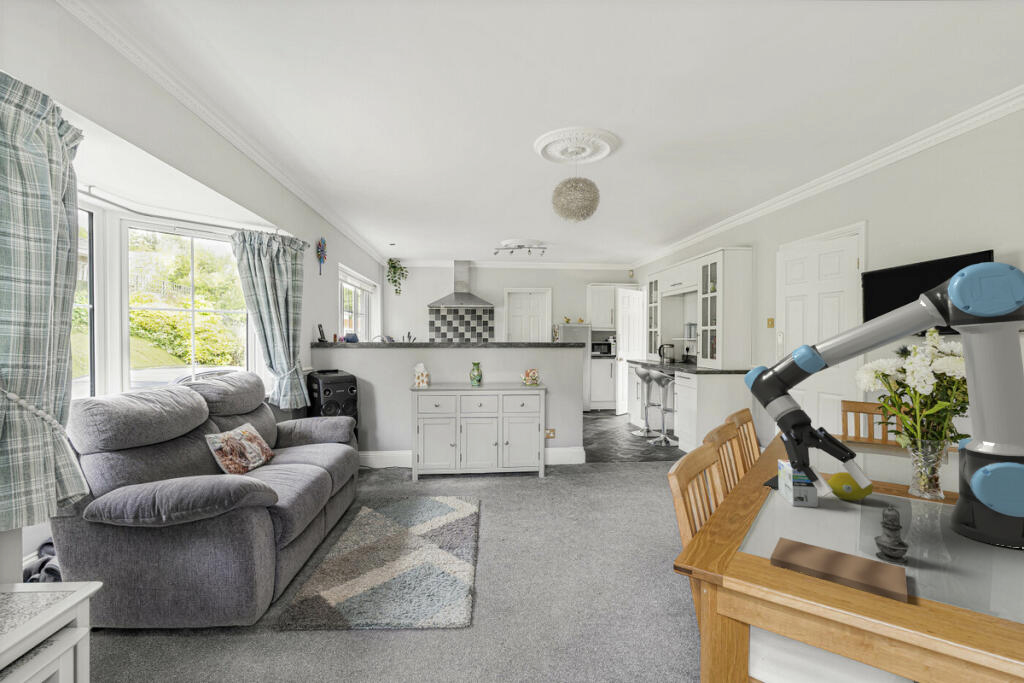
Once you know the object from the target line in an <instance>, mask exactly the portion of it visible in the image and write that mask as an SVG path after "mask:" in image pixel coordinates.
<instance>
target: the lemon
mask: <svg viewBox="0 0 1024 683" xmlns="http://www.w3.org/2000/svg"><path fill="white" fill-rule="evenodd" d="M826 482H827V483H828V484H829V486H830V487H831V488H832V490H833V491H832V492H831V493H832V494H833V495H834V496H835V497H837V498H839V499H841V500H844V501H848V502H850V501H851V502H853V501H860V500H863V499H865V498H867V497H868V496H869V495H872V494H873V489H874V485H873V483H872V484H870V485H869V486H867V487H865V488H863V489H862V488H861V487H860V486H859V484H858V483H857V482H856V481H855V480H854V478H853V477H852V476H851V475H850V474H849V472H848V471H847V472H844V471H843V472H841V471H840V472H835V473H834V474H833V475H831V477H830V478H829V479H827V481H826Z"/></svg>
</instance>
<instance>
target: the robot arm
mask: <svg viewBox="0 0 1024 683" xmlns="http://www.w3.org/2000/svg"><path fill="white" fill-rule="evenodd" d="M936 326H940V327H947V326H950V328H951V329H953V330H954V331H957V332H959V334H960V336H961V346H962V353H963V354H962V355H963V362H964V363H963V364H964V371H965V378H966V387H967V388H966V389H967V395H968V403H969V404H968V405H969V412H970V420H971V428H972V438H968V437H967V438H966V437H965V438H962V439H960V440H959V441H958V447H957V452H958V498H957V501H956V502H955V504H954V507H953V509H952V511H951V513H950V515H949V525H948V526H949V528H950V529H951V528H952V529H951V530H952V531H953V532H956V533H958V534H959V533H960V534H959V535H961V536H964V537H966V536H967V538H969V539H972V540H975V541H978V540H979V542H981V541H983V542H982V543H985V542H987V543H986V544H988V543H992V544H999V545H1004V546H1011V547H1019V548H1022V547H1024V363H1023V362H1024V361H1023V356H1022V355H1023V354H1022V347H1021V346H1022V345H1021V339H1020V332H1019V331H1020V329H1021V328H1023V327H1024V272H1023V270H1021V269H1019V268H1018V267H1016V266H1014V265H1012V264H1009V263H1005V262H998V261H997V262H996V261H992V262H991V261H989V262H988V261H987V262H980V263H975V264H971V265H968V266H966V267H964V268H962V269H960V270H959V271H958V272H957V271H956V273H955V274H954V275H952V276H951V277H949V278H948V279H947V280H945V281H944V282H942V283H941V284H939V285H937V286H936V287H934V288H932V289H930V290H927V291H925V292H923V293H920V295H919V298H918V299H916V300H915V301H913V302H910V303H908V304H906V305H905V304H904V305H903V306H900V307H898V308H896V309H893V310H891V311H890V312H887V313H885V314H882V315H880V316H877V317H875V318H873V319H870V320H868V321H866V322H864V323H861V324H858V325H856V326H853V327H852V328H849V329H847V330H845V331H843V332H840V333H839V334H838V333H837V334H836V335H833V336H831V337H829V338H827V339H824V340H821V341H819V342H817V343H815V344H813V345H809V344H802V345H801V346H799V347H797V348H796V349H794V350H793V351H792V352H791V353H789V354H788V355H786V356H785V357H783V358H782V359H781V360H780V361H778V362H777V363H775V364H774V365H772V366H771V367H767V366H764V365H760V366H756V367H754V368H752V369H750V370H749V371H748V372H747V373H746V374H745V376H744V378H743V379H744V383H745V385H746V386H747V388H748V389H749V390H750V393H751V394H752V395H753V396H754V398H756V400H757V401H758V402H759V403H760V405H761V407H763V408H764V410H765V411H766V412H767V414H768V415H769V416H770V417H771V419H772V421H773V422H774V423H776V426H777V427H778V429H780V431H781V432H782V434H781V435H780V436H779V438H780V440H781V442H782V443H783V445H784V448H785V452H786V454H787V457H788V460H789V461H790V464H791V467H792V468H793V469H796V470H797V471H798V472H802V471H803V472H804V474H805V475H806V476H807V478H808V479H809V480H810V481H811V482H812V483H813V484H814V486H815V487H816V488H817V492H819V494H820V495H821V496H822V497H825V496H827V495H829V494H831V493H832V491H833V490H832V488H831V487H830V486H829V484H828V483H827V481H826V479H825V478H824V477H823V476H822V474H821V473H820V472H819V470H818V469H817V468H816V467H815V465H811V464H810V462H811V461H810V452H809V448H811V449H813V448H815V449H817V450H821V451H823V452H825V453H826V454H828V455H830V456H832V457H833V458H835V459H836V460H838V461H840V462H841V463H843V464H842V466H843V468H844V469H845V470H846V471H847V473H849V474H850V475H851V476H852V477H853V478H854V480H855V481H856V482H857V483H858V484H859V486H860V487H861V488H862V489H863V488H865V487H867V486H869V485H870V484H872V485H873V482H872V481H871V479H870V478H869V477H868V475H866V473H865V472H864V471H863V470H862V468H861V467H860V466H859V464H858V463H857V462H856V461H855V460H854V459H855V458H857V453H856V452H855V451H853V450H852V449H851V448H849V447H848V446H846V445H845V444H844V443H842V442H841V441H840V440H839V439H837V438H836V437H835V436H833V435H832V434H831V433H829V432H828V431H827V430H826V429H825V428H824V427H823V426H819V427H818V428H817V429H815V428H814V427H813V426H812V422H813V421H812V418H811V417H810V416H809V415H808V414H807V413H806V411H805V410H803V409H802V407H801V405H800V404H799V403H798V401H796V400H795V399H794V397H793V396H792V395H791V394H790V393H789V391H790V390H792V389H793V388H794V387H796V386H798V385H799V384H800V383H802V382H804V381H805V380H807V379H808V378H809V377H811V376H813V375H814V374H816V373H819V372H822V371H824V370H826V369H829V368H831V367H833V366H836V365H839V364H841V363H845V362H847V361H849V360H852V359H854V358H856V357H859V356H861V355H864V354H868V353H869V352H870V353H871V352H872V351H874V350H877V349H880V348H882V347H885V346H887V345H890V344H893V343H895V342H898V341H900V340H902V339H905V338H908V337H911V336H914V335H916V334H918V333H921V332H923V331H926V330H928V329H929V330H930V329H932V328H933V327H936ZM795 461H796V462H795ZM809 466H810V467H809ZM992 544H991V545H992Z"/></svg>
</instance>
